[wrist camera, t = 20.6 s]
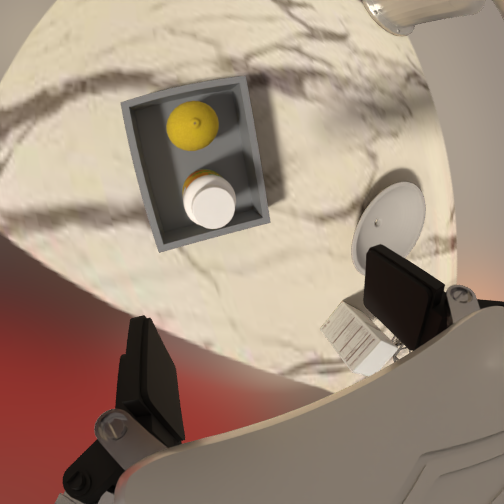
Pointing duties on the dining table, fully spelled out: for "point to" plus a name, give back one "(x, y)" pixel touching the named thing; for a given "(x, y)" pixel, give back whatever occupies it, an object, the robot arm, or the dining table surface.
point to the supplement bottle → (208, 199)
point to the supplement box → (358, 340)
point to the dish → (390, 222)
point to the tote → (195, 159)
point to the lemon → (192, 125)
